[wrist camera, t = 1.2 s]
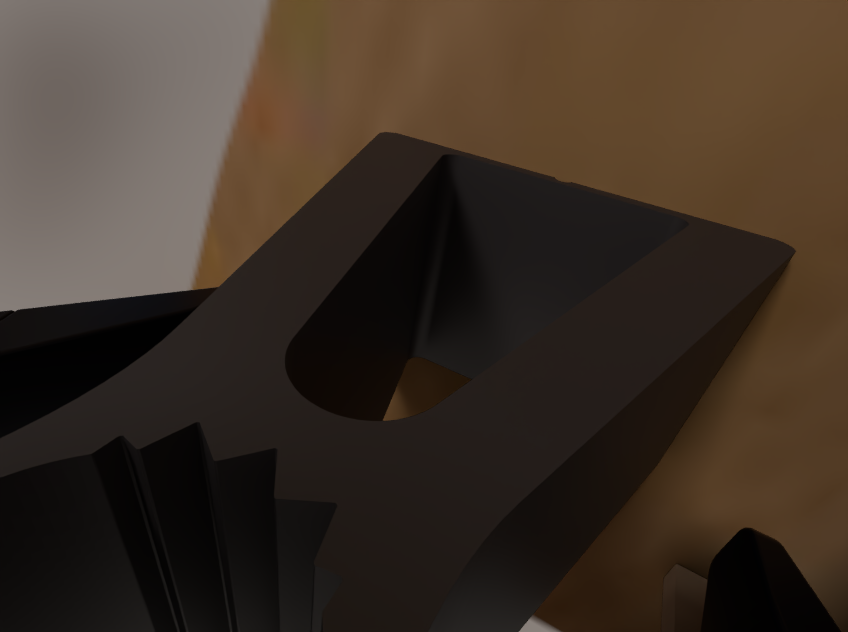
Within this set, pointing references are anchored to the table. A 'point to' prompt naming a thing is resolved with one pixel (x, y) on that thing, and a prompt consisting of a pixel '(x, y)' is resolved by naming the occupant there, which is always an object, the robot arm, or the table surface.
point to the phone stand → (382, 411)
